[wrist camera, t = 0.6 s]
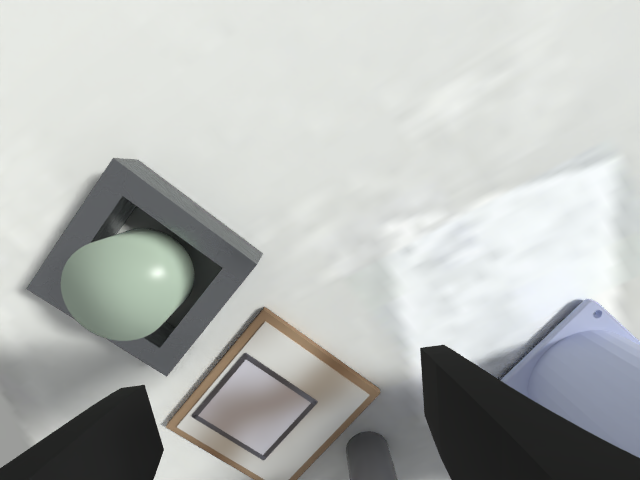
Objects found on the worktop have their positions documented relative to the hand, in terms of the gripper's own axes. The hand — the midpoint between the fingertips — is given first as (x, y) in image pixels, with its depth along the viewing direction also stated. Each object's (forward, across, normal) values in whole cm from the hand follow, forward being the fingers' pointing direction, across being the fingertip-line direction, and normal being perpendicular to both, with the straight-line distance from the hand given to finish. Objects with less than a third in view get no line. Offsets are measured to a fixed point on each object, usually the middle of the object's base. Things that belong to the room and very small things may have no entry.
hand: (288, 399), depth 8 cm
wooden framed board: (+10, +3, +8) cm, 13 cm away
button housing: (+10, +8, -2) cm, 12 cm away
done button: (+8, +8, -2) cm, 11 cm away
